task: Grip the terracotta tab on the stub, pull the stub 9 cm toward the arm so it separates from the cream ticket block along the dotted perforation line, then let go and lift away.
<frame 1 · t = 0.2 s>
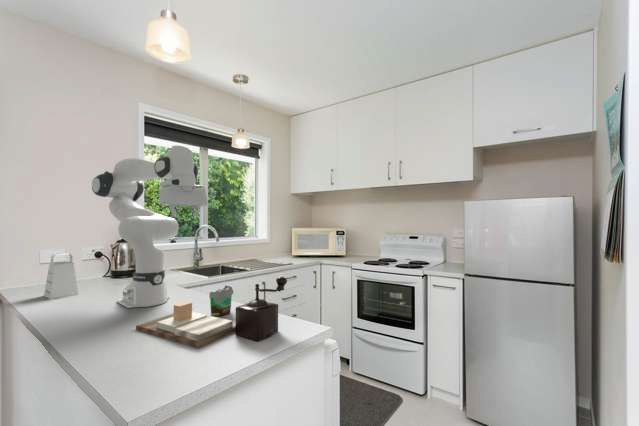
hand: (185, 216, 125), 39 cm above the countertop, tool pointing down, fingers open, 8 cm apart
grater: (61, 295, 148), on the countertop
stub: (182, 314, 104), point 5 cm above the countertop, slide at 0.0 cm
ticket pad: (189, 330, 103), on the countertop
food container: (224, 314, 121), on the countertop
manual coffee grinder: (262, 332, 103), on the countertop
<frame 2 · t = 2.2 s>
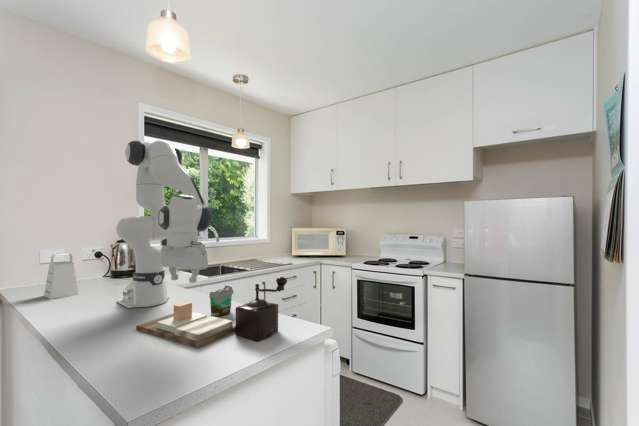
hand: (183, 281, 104), 17 cm above the countertop, tool pointing down, fingers open, 8 cm apart
nothing on the countertop moved.
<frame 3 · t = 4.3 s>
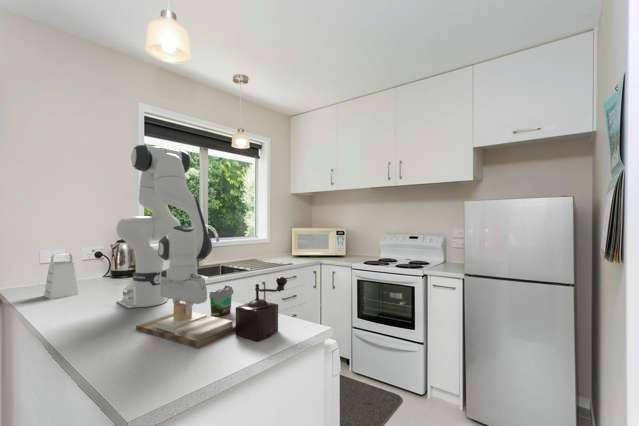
hand: (182, 312, 104), 6 cm above the countertop, tool pointing down, fingers closed on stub, 3 cm apart
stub: (182, 314, 104), point 5 cm above the countertop, slide at 0.0 cm, touching gripper
everything else where it was.
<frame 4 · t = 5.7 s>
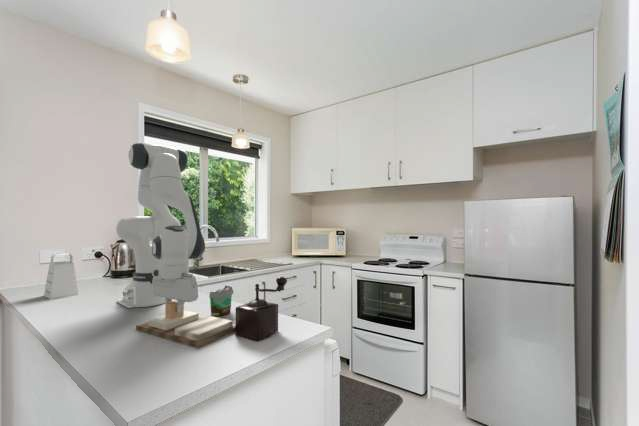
hand: (174, 311, 106), 6 cm above the countertop, tool pointing down, fingers closed on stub, 3 cm apart
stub: (174, 312, 106), point 5 cm above the countertop, slide at 4.4 cm, touching gripper
everything else where it was.
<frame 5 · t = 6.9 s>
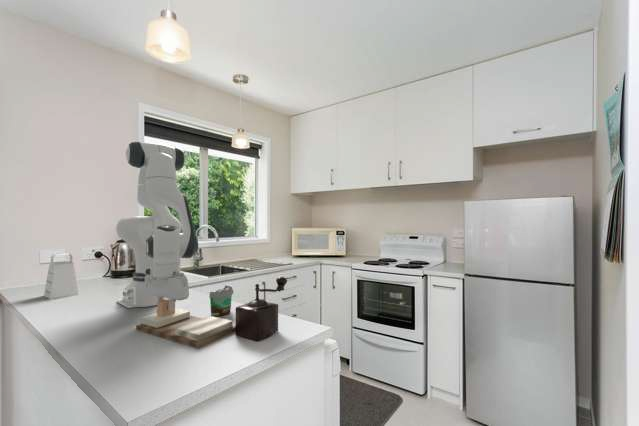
hand: (166, 309, 109), 6 cm above the countertop, tool pointing down, fingers closed on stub, 3 cm apart
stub: (166, 310, 109), point 5 cm above the countertop, slide at 9.0 cm, touching gripper
everything else where it was.
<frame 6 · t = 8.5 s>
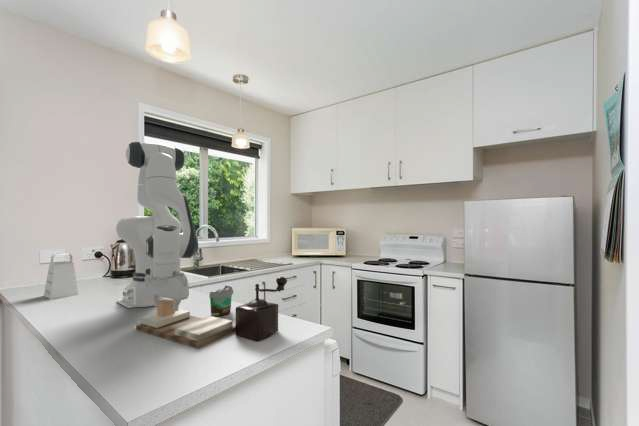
hand: (166, 309, 109), 6 cm above the countertop, tool pointing down, fingers open, 8 cm apart
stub: (166, 310, 109), point 5 cm above the countertop, slide at 9.0 cm
everything else where it was.
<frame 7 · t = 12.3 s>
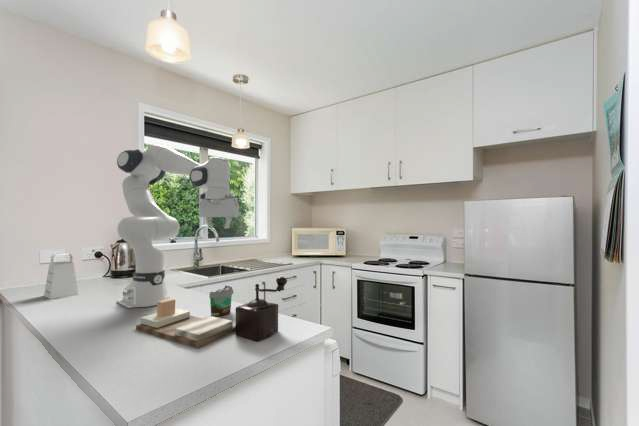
hand: (218, 228, 127), 34 cm above the countertop, tool pointing down, fingers open, 8 cm apart
nothing on the countertop moved.
at the end: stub slide at 9.0 cm; the gripper is holding nothing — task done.
